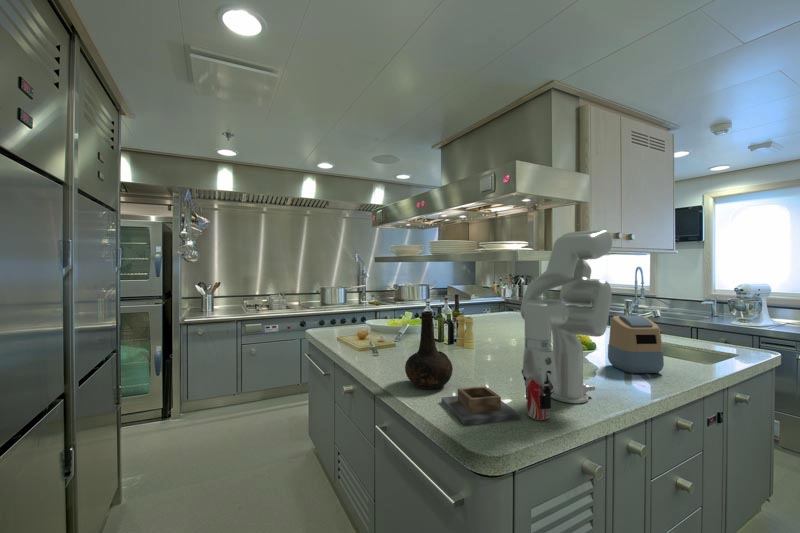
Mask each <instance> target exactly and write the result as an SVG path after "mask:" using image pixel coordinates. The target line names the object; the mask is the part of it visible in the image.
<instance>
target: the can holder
mask: <svg viewBox="0 0 800 533" xmlns="http://www.w3.org/2000/svg"><path fill="white" fill-rule="evenodd" d="M441 403H442V404H443V405H444V407H445V408H446V409H447V410H448V411H449V412H450V413H451V415H453V417H455V418H456V419H457V421H458V422H459V423H460V424H461V425H462V426H472V425H473V426H474V425H482V424H488V423H489V424H490V423H499V422H508V421H509V422H510V421H516V420H517V421H518V420H521V413H519V412H518V411H516V410H515V409H514V408H512V407H511V406H509V405H508V404H507V403H505V402H504V401H503V400H502V399H501V396H500V394H497V393H496V392H494V391H493V390H492V389H490V388H489V387H488V386H484V385H483V386H473V387H464V388H463V387H461V388H457V395H453V396H443V397H441Z"/></svg>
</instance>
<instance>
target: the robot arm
mask: <svg viewBox="0 0 800 533" xmlns="http://www.w3.org/2000/svg"><path fill="white" fill-rule="evenodd" d="M612 245H613V238H612V235H611V233H610V232H609V231H608V230H605V229H599V230H583V231H582V230H581V231H572V232H567V233H564V234H563V235H561V236H560V237H558V238H557V239H556V240H555V242H554V244H553V246H552V249H551V254H550V257H549V260H548V263H547V267H546V270H545V271H544V272H543V273H541V274H540V275H539V276H537V277H536V278H534V280H533V281H532V282H531V283H530V284H528V286H527V288H526V290H525V292H524V294H523V298H522V300H521V305H520V315H521V318H522V319H523V320H524V350H523V359H522V360H523V361H522V369H521V371H520V372H521V374H522V376H523V380H524V385H525V399H526V401H527V380H528V379H529V377H530V378H533V379H534V381H535V382H536V383H537V384H539V385H540V390H541V394H542V395H540V408H541V409H549V410H551V408H552V403H551V402H552V399H554V400H555V401H558V402H563V403H567V404H583V403H587V402H588V401H589V395H588V394H587V392H591V391H592V392H594V391H595V390H596V387H595V385H594V384H586V383H584V348H583V343H582V342H581V340H580V339H579V337H578V336H577V335H579V336H586V337H587V336H588V337H595V338H596V337H598V338H599V337H602V336H604V334H605V333H606V331H607V327H608V323H609V322H608V321H609V316H610V315H609V314H610V310H611V304H612V287H611V285H610V283H609V282H608V281H607V280H604V279H599V278H591V276H592V267H591V266H590V264H589V263H588V262H587V261H586V260H597V259H599V258H602V257H604V256H605V255H607V254H608V253H609V252H610V251H611V249H612ZM558 287H561V288H560V292H559V295H560V296H559V297H560V301H559V300H548V299H539V298H540V297H541V296H542V295H543V294H544V293H546V292H548V291H550V290H552V289H556V288H558ZM544 382H546V383H547V384H544ZM544 386H547V389H546V390H544Z"/></svg>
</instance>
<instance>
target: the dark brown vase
mask: <svg viewBox="0 0 800 533" xmlns="http://www.w3.org/2000/svg"><path fill="white" fill-rule="evenodd" d="M419 319H421V323H420V340H419V347H418V350H417V352H415V353H413V354H412V355H410V356H409V357H408V359H407V360H406V362H405V366H404V371H405V372H404V373H405V374H406V377H407V379H408V380H409V381H410V382H411V383H412V384H413V385H415V386H416V387H418V388H421V389H427V390H428V389H429V390H430V389H431V390H432V389H433V390H434V389H438V388H441V387H443V386H445V385H446V384H447V383H448V382H449V381H450V380H451V377H452V375H453V370H454V369H453V364H452V361H451V360H450V358H449V357H448V355H447V354H446V353H444V352H443V351H440V350H439V351H438V349H437V345H436V340H435V333H434V321H433V320H434V319H435V316H434V313H433V311H422V312H421V315H420V316H419Z"/></svg>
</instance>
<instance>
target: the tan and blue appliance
mask: <svg viewBox="0 0 800 533" xmlns="http://www.w3.org/2000/svg"><path fill="white" fill-rule="evenodd" d="M607 359H608V362H609V363H610V365H611V366H612V367H615V368H616V369H618V370H620V369H621V371H622V370H623V372H625V373H627V372H628V373H627V374H631V373H636V374H653V373H656V374H658V373H660V372H661V371H663V369H664V366H665V364H664V363H665V362H664V361H665V360H664V351H663V344H662V335H661V330H660V326H659V325H658V324H656V323H655V322H653V320H651V319H650V318H647V317H646V316H643V315H642V316H641V315H614V316H612V318H611V322H610V328H609V337H608V346H607Z"/></svg>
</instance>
